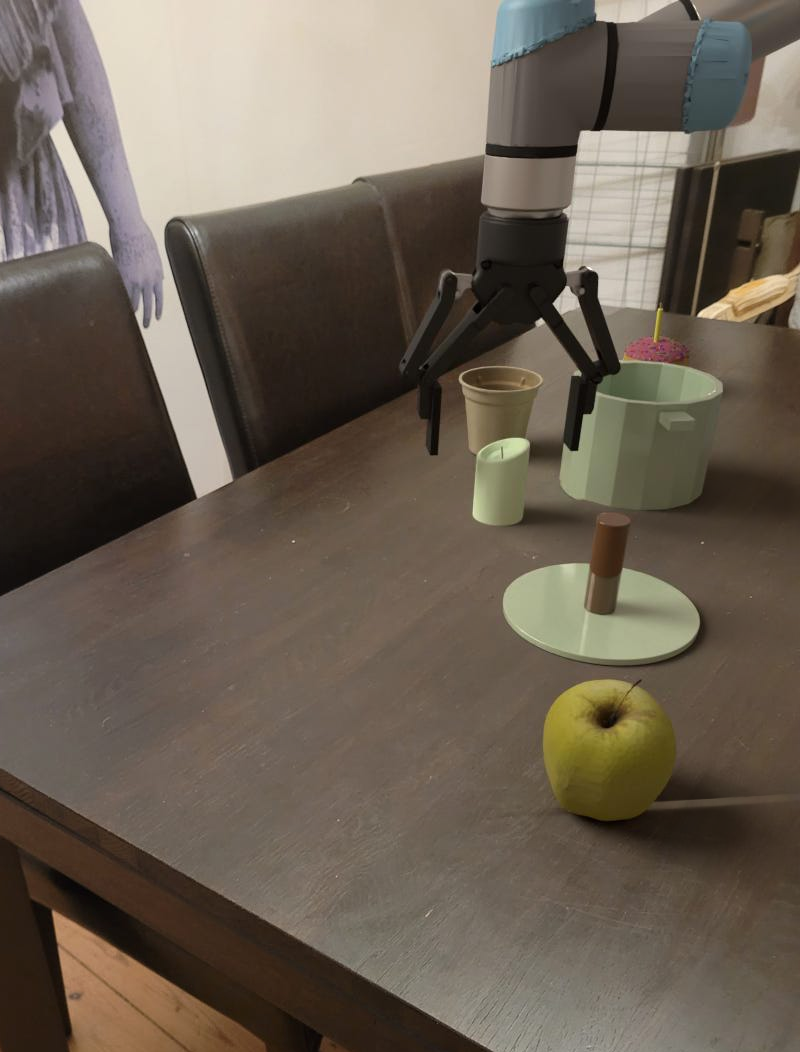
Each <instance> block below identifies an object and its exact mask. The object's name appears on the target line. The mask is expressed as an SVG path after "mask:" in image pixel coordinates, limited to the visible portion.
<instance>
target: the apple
mask: <svg viewBox="0 0 800 1052" xmlns="http://www.w3.org/2000/svg"><path fill="white" fill-rule="evenodd" d="M642 681H643V678H642V679H638V680H637V681H636V682H635V683H630V682H628V681H623V680H617V679H607V678H606V679H594V680H588V681H583V682H581V683H578V684H575V685H574V686H572V687H570V688H568V689H567V690H565V691H564V692H563V693H561V695H559V696H558V697H557V698H556V699H555V700H554V702H553V703H552V705H551V706H550V708H549V709H548V712H547V715H546V718H545V721H544V725H543V732H542V733H543V736H542V752H543V762H544V766H545V771H546V774H547V776H548V779H549V783H550V786H551V789H552V792H553V794H554V797H555V798H556V801H557V802H558V804H559V805H560V806H561V807H562V808H563V809H565V810H566V811H567V812H570V813H572V814H574V815H578V816H584V817H589V818H592V819H595V820H597V821H604V822H612V821H622V820H631V819H633V818H637V817H638V816H640V815H641V814H642V813H644V812H645V811H647V810H648V809H649V808H650V806H652V804H653V803H654V802H655V801H656V800H657V798H658V796H660V794H661V793H662V792H663V791H664V789H665V788H666V786H667V784H668V782H669V780H670V779H671V777H672V774H673V771H674V767H675V762H676V759H677V742H676V741H677V740H676V735H675V729H674V727H673V724H672V722H671V720H670V717H669V716H668V714H667V713H666V711H665V709H664V708H663V707H662V705H661V704H660V703H659V702H658V700H656V699H655V697H654V696H653V695H651V693H649V692H648V691H646V690H645V689H643V688H641V687H639V686H637V685H639V684H640V683H642Z"/></svg>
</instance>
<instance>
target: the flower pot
mask: <svg viewBox="0 0 800 1052" xmlns="http://www.w3.org/2000/svg"><path fill="white" fill-rule="evenodd" d="M458 382H459V384H460V385H461V387H462V393H463V396H464V401H465V413H466V425H467V438H468V450H469V451H470V452H471V453H472V454H474V455H476V456H477V454H478V453H479V451H480V450H481V449H483V448H484V447H486V446H487V445H489V444H491V443H494V442H497V441H500V440H503V439H509V438H523V439H526V435H527V432H528V431H527V430H528V427H529V422H530V419H531V413H532V409H533V405H534V403H535V402H534V401H535V399H536V398H537V396H538V394H539V389H540V388H541V387H542V386H543V385H544V378H543V377H542V375H540V373H537V372H535V371H533V370H530V369H526V368H522V367H517V366H506V365H505V366H504V365H503V366H502V365H494V366H493V365H492V366H491V365H489V366H481V367H476V368H471V369H469V370H466V371H463V372H461V373H460V374H459V376H458Z"/></svg>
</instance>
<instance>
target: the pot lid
mask: <svg viewBox="0 0 800 1052" xmlns="http://www.w3.org/2000/svg"><path fill="white" fill-rule="evenodd" d="M631 524H632V521H631V518H630V517H628V515H625V514H622V513H619V512H602V513H600V514H598V515H597V516H596V519H595V525H594V526H595V527H594V532H593V533H594V534H593V540H592V546H591V552H590V559H589V563H585V562H584V563H583V562H581V563H577V562H574V563H573V562H572V563H561V564H553V565H548V566H544V567H540V568H537V569H534V570H530V571H529V572H526V573H524V574H522V575H521V576H519V577H517V578H515V580H514V581H512V582H511V583H510V584H509V585H508V586H507V588H506V590H505V591H504V594H503V598H502V604H501V605H502V613H503V617H504V618H505V620H506V622H507V623H508V625H509V626H510V627H511V629H512V630H513V631H514V632H515V633H516V634H518V636H519V637H521V638H523V639H524V640H526V641H527V642H528V643H530V644H532V645H534V646H535V647H538V648H539V649H541V650H544V651H546V652H547V653H551V654H553V655H556V656H559V657H561V658H565V659H568V660H573V661H577V662H582V663H588V664H594V665H602V666H616V667H618V666H621V667H622V666H623V667H624V666H640V665H648V664H653V663H657V662H661V661H665V660H669V659H671V658H673V657H675V656H678V655H679V654H681V653H683V652H685V651H686V650H687V649H688V648H690V647H691V646H692V644H694V642H695V641H696V639H697V637H698V635H699V631H700V625H701V619H700V614H699V611H698V609H697V607H696V605H694V603H693V602H692V600H691V599H690V598H688V596H687V595H685V594H684V593H683V592H682V591H681V590H679V589H678V588H676V587H674V586H673V585H671V584H670V583H668V582H666V581H663V580H662V579H659V578H657V577H655V576H652V575H649V574H647V573H643V572H641V571H637V570H634V569H630V568H626V567H624V564H625V558H626V552H627V546H628V540H629V535H630V529H631Z"/></svg>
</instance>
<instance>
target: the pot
mask: <svg viewBox="0 0 800 1052" xmlns="http://www.w3.org/2000/svg"><path fill="white" fill-rule="evenodd" d="M619 362H620V365H621V370H620V372H619V373H618V374H616V375H611V374H610V375H607V376H605V377H603V381H602V382H601V383H600V384H598V385H597V391H596V398H595V405H594V410H593V412H592V413H591V414H584V415H583V421H582V428H581V435H580V442H579V449H578V451H570V450H569V449H568V447H567V446H566V445H565V444H564V443H563V447H562V455H561V462H560V463H561V464H560V470H559V484H560V487H561V489H562V491H564V492H565V493H566V494H567V495H568V496H569V497H571V498H572V499H574V500H576V501H580V500H581V501H582V500H583V501H588V502H591V503H595V504H599V505H601V506H606V507H610V508H616V509H624V510H634V511H656V510H670V509H674V508H677V507H683V506H685V505H689V504H691V503H693V502H694V501H695V500H696V499H698V498H699V497H701V496H702V494H703V488H704V485H705V480H706V476H707V475H706V474H707V469H708V465H709V461H710V456H711V451H712V447H713V442H714V438H715V434H716V433H715V432H716V429H717V423H718V418H719V413H720V410H721V409H720V408H721V405H722V399H723V394H724V383H723V382H722V381H721V380H720V379H718V378H717V377H715V376H714V375H713V374H711V373H708V372H705V371H702V370H700V369H696V368H693V367H691V366H690V367H689V366H687V367H686V366H680V365H675V364H669V363H663V362H650V361H637V360H636V361H625V360H624V359H619ZM578 375H579V376H580V377H581V372H580V371H579V369H577V370H576V371H574V373H573V375H572V376H578Z"/></svg>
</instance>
